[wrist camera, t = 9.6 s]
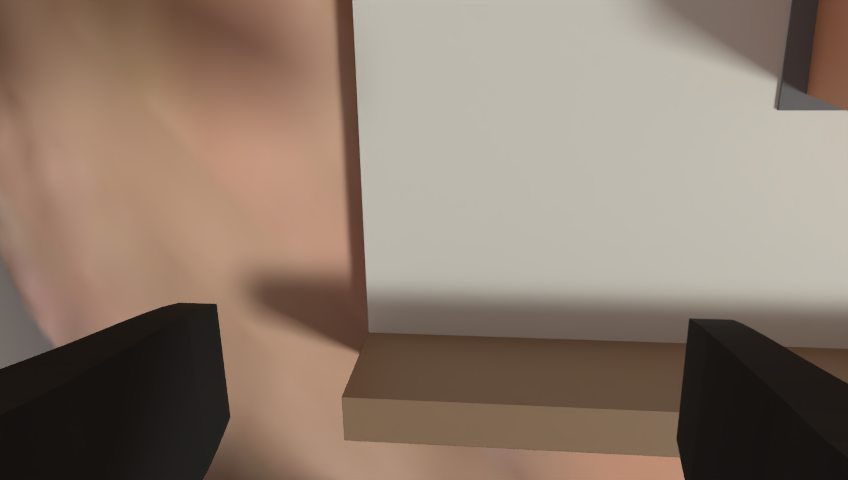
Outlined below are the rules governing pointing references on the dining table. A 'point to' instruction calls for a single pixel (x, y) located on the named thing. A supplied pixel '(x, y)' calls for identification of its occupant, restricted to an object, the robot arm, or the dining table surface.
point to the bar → (830, 54)
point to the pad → (800, 60)
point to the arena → (582, 215)
